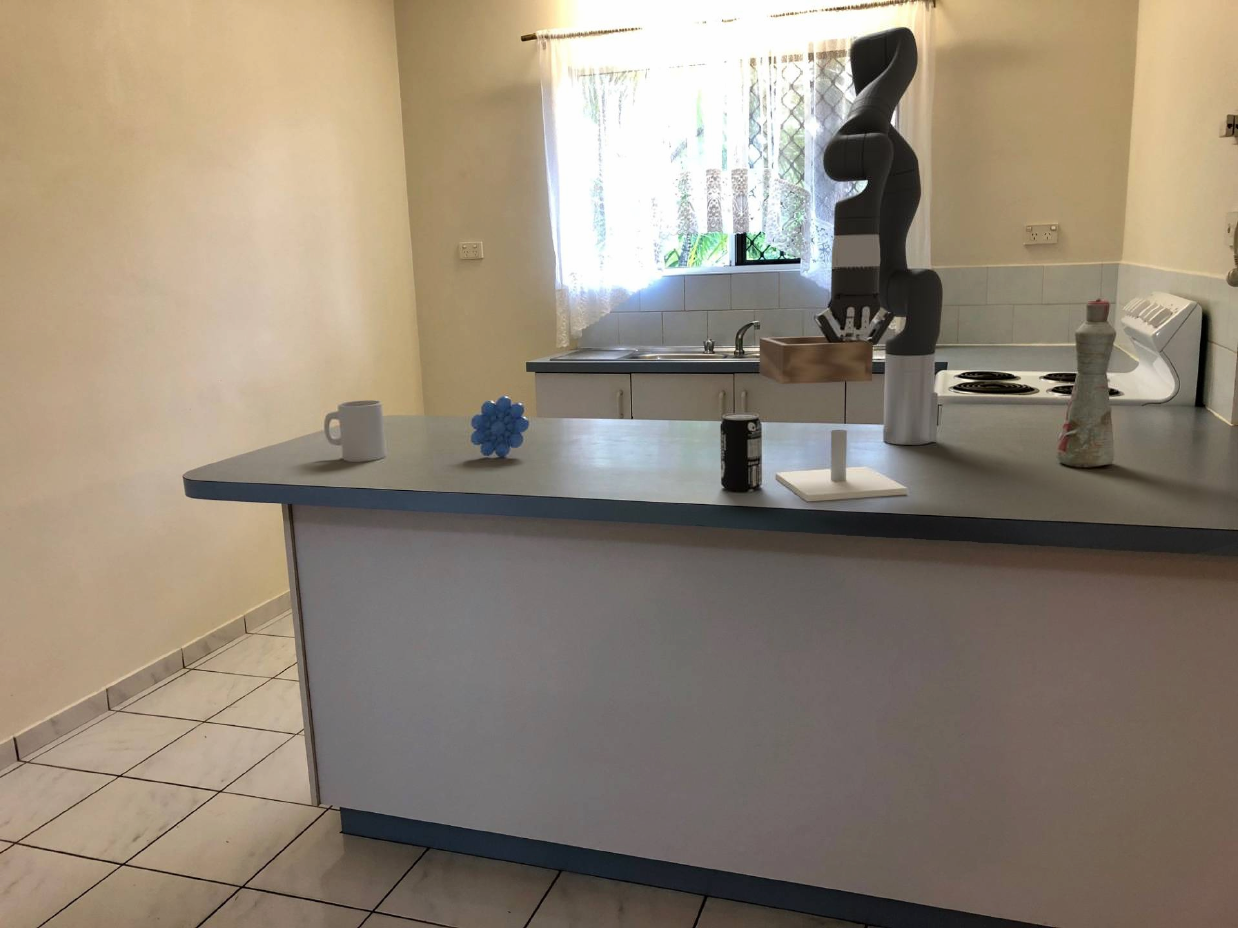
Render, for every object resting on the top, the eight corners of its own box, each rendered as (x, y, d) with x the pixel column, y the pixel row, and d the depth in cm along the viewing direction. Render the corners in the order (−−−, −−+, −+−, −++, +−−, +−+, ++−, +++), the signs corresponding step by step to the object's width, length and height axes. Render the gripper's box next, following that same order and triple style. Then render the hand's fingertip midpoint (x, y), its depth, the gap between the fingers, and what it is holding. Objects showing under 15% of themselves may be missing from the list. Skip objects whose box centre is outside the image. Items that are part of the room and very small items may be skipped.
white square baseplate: (866, 472, 162) (867, 420, 160) (906, 494, 147) (908, 437, 145) (775, 478, 160) (775, 425, 158) (807, 501, 145) (807, 443, 143)
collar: (841, 370, 164) (842, 335, 162) (871, 380, 150) (873, 342, 148) (759, 373, 162) (759, 338, 161) (782, 384, 148) (783, 345, 147)
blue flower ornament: (534, 452, 190) (531, 392, 188) (528, 459, 183) (525, 397, 181) (477, 453, 191) (472, 394, 188) (469, 460, 184) (465, 399, 182)
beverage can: (717, 484, 157) (716, 413, 155) (756, 482, 158) (756, 411, 155) (725, 494, 151) (724, 419, 148) (766, 491, 151) (765, 417, 149)
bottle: (1091, 472, 156) (1103, 300, 150) (1044, 463, 164) (1054, 299, 158) (1125, 465, 160) (1138, 297, 154) (1078, 456, 168) (1089, 296, 162)
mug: (392, 452, 195) (387, 399, 192) (378, 461, 186) (373, 406, 184) (335, 453, 196) (330, 401, 194) (319, 462, 188) (313, 407, 185)
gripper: (887, 263, 157) (883, 368, 161) (807, 265, 156) (805, 371, 159) (905, 263, 150) (901, 373, 153) (821, 265, 148) (819, 376, 152)
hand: (852, 372), depth 156 cm, fingers closed on collar, 1 cm apart
